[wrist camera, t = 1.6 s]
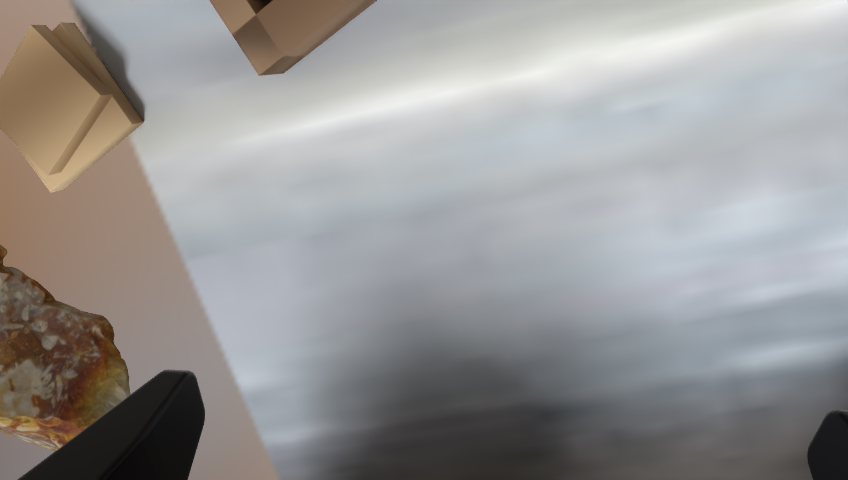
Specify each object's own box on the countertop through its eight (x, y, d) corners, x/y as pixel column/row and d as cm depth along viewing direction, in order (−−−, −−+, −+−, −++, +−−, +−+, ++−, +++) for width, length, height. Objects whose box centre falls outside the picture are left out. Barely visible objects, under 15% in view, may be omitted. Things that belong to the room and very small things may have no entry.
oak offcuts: (145, 120, 21) (121, 125, 20) (63, 189, 23) (37, 196, 22) (71, 14, 21) (42, 12, 20) (-7, 92, 23) (-37, 95, 21)
